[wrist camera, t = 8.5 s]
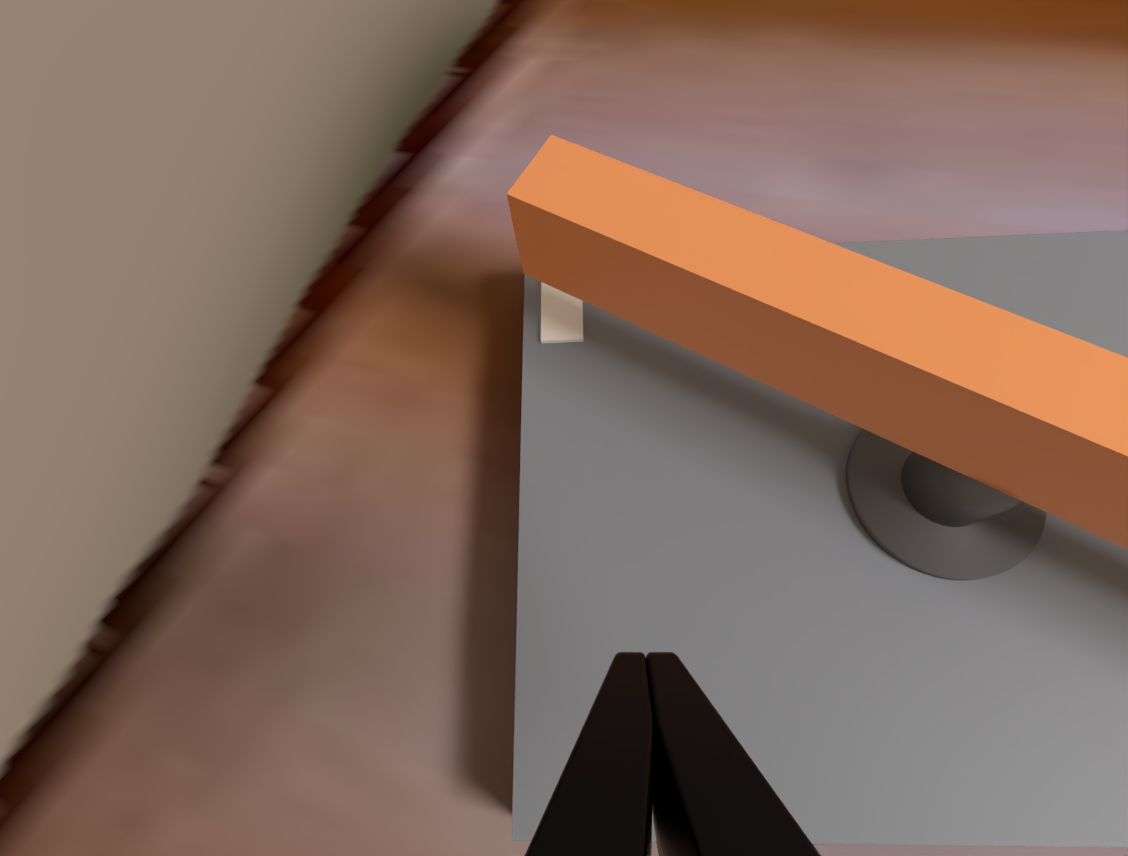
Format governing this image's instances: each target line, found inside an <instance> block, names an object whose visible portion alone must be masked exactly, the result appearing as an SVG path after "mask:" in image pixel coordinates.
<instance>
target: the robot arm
mask: <svg viewBox="0 0 1128 856" xmlns="http://www.w3.org/2000/svg"><path fill="white" fill-rule="evenodd" d="M652 811H653V822H654V829H655V835H656V842H657V848H658V853H659V856H821V855H820V854H819V852H818V851H817V850H816V848H815V847H814V845H813V844H812V843H811V841H810V840H809V839H808V837H807V836H806V834H805V833H804V832H803V830H802V829H801V827H800V826H799V825H798V823H797V822H796V820H795V819H794V818H793V816H792V815H791V813H790V812H789V811H788V809H787V808H786V806H785V805H784V804H783V802H782V801H781V799H780V798H779V797H778V795H777V794H776V792H775V791H774V790H773V788H772V787H771V785H770V784H769V783H768V781H767V780H766V779H765V777H764V776H763V774H762V773H761V772H760V770H759V769H758V767H757V766H756V765H755V763H754V762H753V760H752V759H751V758H750V756H749V755H748V753H747V752H746V751H745V749H744V748H743V746H742V745H741V744H740V742H739V741H738V739H737V738H736V737H735V735H734V734H733V732H732V731H731V730H730V728H729V727H728V725H727V724H726V723H725V721H724V720H723V719H722V717H721V716H720V714H719V713H718V712H717V710H716V709H715V707H714V706H713V705H712V703H711V702H710V700H709V699H708V698H707V696H706V695H705V693H704V692H703V691H702V689H701V688H700V686H699V685H698V684H697V682H696V681H695V679H694V678H693V677H692V675H691V674H690V672H689V671H688V670H687V668H686V667H685V665H684V664H683V663H682V661H681V660H680V659H679V657H678V656H677V655H676V654H675V653H673V652H649V653H648V654H647V655H646V657H645V655H644V653H642V652H618V653H617V654H616V655H615V656H614V659H613V661H612V663H611V665H610V667H609V670H608V672H607V674H606V676H605V678H604V681H603V683H602V685H601V687H600V690H599V692H598V694H597V696H596V698H595V701H594V703H593V705H592V707H591V710H590V712H589V714H588V716H587V718H586V721H585V723H584V725H583V727H582V730H581V732H580V734H579V736H578V738H577V741H576V743H575V745H574V747H573V749H572V752H571V754H570V756H569V758H568V761H567V763H566V765H565V767H564V769H563V772H562V774H561V776H560V778H559V781H558V783H557V785H556V787H555V789H554V792H553V794H552V796H551V798H550V801H549V803H548V805H547V807H546V809H545V812H544V814H543V816H542V818H541V821H540V823H539V825H538V827H537V829H536V832H535V834H534V836H533V838H532V840H531V843H530V845H529V847H528V849H527V852H526V854H525V856H651V848H652Z"/></svg>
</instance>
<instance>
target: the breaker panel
mask: <svg viewBox="0 0 1128 856" xmlns="http://www.w3.org/2000/svg"><path fill="white" fill-rule="evenodd" d="M833 244H835V245H838V246H840V247H843V248H845V249H848V250H851V251H853V252H856V253H858V254H861V255H864V256H866V257H869V258H871V259H874V260H876V261H879V262H882V263H884V264H887V265H889V266H892V267H895V268H897V269H900V270H902V271H905V272H908V273H910V274H913V275H915V276H918V277H920V278H923V279H926V280H928V281H931V282H933V283H936V284H939V285H941V286H944V287H946V288H949V289H951V290H954V291H957V292H959V293H962V294H964V295H967V296H970V297H972V298H975V299H977V300H980V301H982V302H985V303H988V304H990V305H993V306H995V307H998V308H1001V309H1003V310H1006V311H1008V312H1011V313H1014V314H1016V315H1019V316H1021V317H1024V318H1026V319H1029V320H1032V321H1034V322H1037V323H1039V324H1042V325H1045V326H1047V327H1050V328H1052V329H1055V330H1057V331H1060V332H1063V333H1065V334H1068V335H1070V336H1073V337H1076V338H1078V339H1081V340H1083V341H1086V342H1088V343H1091V344H1094V345H1096V346H1099V347H1101V348H1104V349H1107V350H1109V351H1112V352H1114V353H1117V354H1119V355H1122V356H1125V357H1127V358H1128V230H1122V231H1100V232H1077V233H1055V234H1033V235H1011V236H988V237H966V238H944V239H922V240H899V241H877V242H855V243H833ZM912 452H913V451H911V450H909V449H907V448H904V447H902V446H900V445H898V444H896V443H893V442H891V441H889V440H887V439H885V438H882V437H880V436H878V435H876V434H874V433H871V432H869V431H867V430H865V429H863V428H861V427H858V426H856V425H854V424H852V423H850V422H847V421H845V420H843V419H841V418H839V417H836V416H834V415H832V414H830V413H828V412H825V411H823V410H821V409H819V408H817V407H814V406H812V405H810V404H808V403H806V402H804V401H801V400H799V399H797V398H795V397H793V396H790V395H788V394H786V393H784V392H782V391H779V390H777V389H775V388H773V387H771V386H768V385H766V384H764V383H762V382H760V381H757V380H755V379H753V378H751V377H749V376H747V375H744V374H742V373H740V372H738V371H736V370H733V369H731V368H729V367H727V366H725V365H722V364H720V363H718V362H716V361H714V360H711V359H709V358H707V357H705V356H703V355H700V354H698V353H696V352H694V351H692V350H690V349H687V348H685V347H683V346H681V345H679V344H676V343H674V342H672V341H670V340H668V339H665V338H663V337H661V336H659V335H657V334H654V333H652V332H650V331H648V330H646V329H643V328H641V327H639V326H637V325H635V324H633V323H630V322H628V321H626V320H624V319H622V318H619V317H617V316H615V315H613V314H611V313H608V312H606V311H604V310H602V309H600V308H597V307H595V306H593V305H591V304H589V303H586V302H584V301H582V300H580V299H578V298H576V297H573V296H571V295H569V294H567V293H565V292H562V291H560V290H558V289H556V288H554V287H551V286H549V285H547V284H545V283H543V282H540V281H538V280H536V279H534V278H532V277H529V276H527V275H525V274H524V318H523V363H522V407H521V452H520V496H519V541H518V585H517V630H516V674H515V718H514V763H513V807H512V841H531V840H532V838H533V836H534V834H535V832H536V829H537V827H538V825H539V823H540V821H541V818H542V816H543V814H544V812H545V809H546V807H547V805H548V803H549V801H550V798H551V796H552V794H553V792H554V789H555V787H556V785H557V783H558V781H559V778H560V776H561V774H562V772H563V769H564V767H565V765H566V763H567V761H568V758H569V756H570V754H571V752H572V749H573V747H574V745H575V743H576V741H577V738H578V736H579V734H580V732H581V730H582V727H583V725H584V723H585V721H586V718H587V716H588V714H589V712H590V710H591V707H592V705H593V703H594V701H595V698H596V696H597V694H598V692H599V690H600V687H601V685H602V683H603V681H604V678H605V676H606V674H607V672H608V670H609V667H610V665H611V663H612V661H613V659H614V656H615V655H616V654H617V653H618V652H642V653H644V655H645V657H646V655H647V654H648V653H649V652H673V653H675V654H676V655H677V656H678V657H679V659H680V660H681V661H682V663H683V664H684V665H685V667H686V668H687V670H688V671H689V672H690V674H691V675H692V677H693V678H694V679H695V681H696V682H697V684H698V685H699V686H700V688H701V689H702V691H703V692H704V693H705V695H706V696H707V698H708V699H709V700H710V702H711V703H712V705H713V706H714V707H715V709H716V710H717V712H718V713H719V714H720V716H721V717H722V719H723V720H724V721H725V723H726V724H727V725H728V727H729V728H730V730H731V731H732V732H733V734H734V735H735V737H736V738H737V739H738V741H739V742H740V744H741V745H742V746H743V748H744V749H745V751H746V752H747V753H748V755H749V756H750V758H751V759H752V760H753V762H754V763H755V765H756V766H757V767H758V769H759V770H760V772H761V773H762V774H763V776H764V777H765V779H766V780H767V781H768V783H769V784H770V785H771V787H772V788H773V790H774V791H775V792H776V794H777V795H778V797H779V798H780V799H781V801H782V802H783V804H784V805H785V806H786V808H787V809H788V811H789V812H790V813H791V815H792V816H793V818H794V819H795V820H796V822H797V823H798V825H799V826H800V827H801V829H802V830H803V832H804V833H805V834H806V836H807V837H808V839H809V840H810V841H811V843H812V844H873V845H967V846H1060V847H1128V549H1126V548H1124V547H1121V546H1119V545H1117V544H1115V543H1113V542H1110V541H1108V540H1106V539H1104V538H1102V537H1100V536H1097V535H1095V534H1093V533H1091V532H1089V531H1086V530H1084V529H1082V528H1080V527H1078V526H1075V525H1073V524H1071V523H1069V522H1067V521H1064V520H1062V519H1060V518H1058V517H1056V516H1053V515H1051V514H1049V513H1047V512H1045V511H1043V510H1040V509H1038V508H1036V507H1034V506H1032V505H1029V504H1027V503H1025V504H1022V505H1020V506H1017V507H1015V508H1012V509H1010V510H1007V511H1004V512H1002V513H999V514H997V515H994V516H992V517H989V518H987V519H984V520H982V521H979V522H976V523H974V524H971V525H968V526H964V527H948V526H943V525H940V524H937V523H935V522H932V521H930V520H929V519H927V518H925V517H924V516H923V515H921V514H920V513H919V512H918V511H917V510H916V509H915V508H914V507H913V506H912V505H911V503H910V502H909V501H908V499H907V497H906V495H905V493H904V490H903V487H902V482H901V473H902V468H903V465H904V463H905V461H906V459H907V458H908V456H909V455H910V454H911V453H912ZM652 842H656V835H655V829H654V822H653V811H652Z"/></svg>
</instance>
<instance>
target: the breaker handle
mask: <svg viewBox="0 0 1128 856" xmlns="http://www.w3.org/2000/svg"><path fill="white" fill-rule="evenodd" d="M507 197H508V202H509V207H510V212H511V217H512V221H513V226H514V231H515V236H516V241H517V245H518V250H519V255H520V260H521V265H522V269H523V274H525V275H527V276H529V277H532V278H534V279H536V280H538V281H540V282H543V283H545V284H547V285H549V286H551V287H554V288H556V289H558V290H560V291H562V292H565V293H567V294H569V295H571V296H573V297H576V298H578V299H580V300H582V301H584V302H586V303H589V304H591V305H593V306H595V307H597V308H600V309H602V310H604V311H606V312H608V313H611V314H613V315H615V316H617V317H619V318H622V319H624V320H626V321H628V322H630V323H633V324H635V325H637V326H639V327H641V328H643V329H646V330H648V331H650V332H652V333H654V334H657V335H659V336H661V337H663V338H665V339H668V340H670V341H672V342H674V343H676V344H679V345H681V346H683V347H685V348H687V349H690V350H692V351H694V352H696V353H698V354H700V355H703V356H705V357H707V358H709V359H711V360H714V361H716V362H718V363H720V364H722V365H725V366H727V367H729V368H731V369H733V370H736V371H738V372H740V373H742V374H744V375H747V376H749V377H751V378H753V379H755V380H757V381H760V382H762V383H764V384H766V385H768V386H771V387H773V388H775V389H777V390H779V391H782V392H784V393H786V394H788V395H790V396H793V397H795V398H797V399H799V400H801V401H804V402H806V403H808V404H810V405H812V406H814V407H817V408H819V409H821V410H823V411H825V412H828V413H830V414H832V415H834V416H836V417H839V418H841V419H843V420H845V421H847V422H850V423H852V424H854V425H856V426H858V427H861V428H863V429H865V430H867V431H869V432H871V433H874V434H876V435H878V436H880V437H882V438H885V439H887V440H889V441H891V442H893V443H896V444H898V445H900V446H902V447H904V448H907V449H909V450H911V451H913V452H912V453H911V454H910V455H909V456H908V458H907V459H906V461H905V463H904V465H903V468H902V473H901V482H902V487H903V490H904V493H905V495H906V497H907V499H908V501H909V502H910V503H911V505H912V506H913V507H914V508H915V509H916V510H917V511H918V512H919V513H920V514H921V515H923V516H924V517H925V518H927V519H929V520H930V521H932V522H935V523H937V524H940V525H943V526H948V527H964V526H968V525H971V524H974V523H976V522H979V521H982V520H984V519H987V518H989V517H992V516H994V515H997V514H999V513H1002V512H1004V511H1007V510H1010V509H1012V508H1015V507H1017V506H1020V505H1022V504H1025V503H1027V504H1029V505H1032V506H1034V507H1036V508H1038V509H1040V510H1043V511H1045V512H1047V513H1049V514H1051V515H1053V516H1056V517H1058V518H1060V519H1062V520H1064V521H1067V522H1069V523H1071V524H1073V525H1075V526H1078V527H1080V528H1082V529H1084V530H1086V531H1089V532H1091V533H1093V534H1095V535H1097V536H1100V537H1102V538H1104V539H1106V540H1108V541H1110V542H1113V543H1115V544H1117V545H1119V546H1121V547H1124V548H1126V549H1128V358H1127V357H1125V356H1122V355H1119V354H1117V353H1114V352H1112V351H1109V350H1107V349H1104V348H1101V347H1099V346H1096V345H1094V344H1091V343H1088V342H1086V341H1083V340H1081V339H1078V338H1076V337H1073V336H1070V335H1068V334H1065V333H1063V332H1060V331H1057V330H1055V329H1052V328H1050V327H1047V326H1045V325H1042V324H1039V323H1037V322H1034V321H1032V320H1029V319H1026V318H1024V317H1021V316H1019V315H1016V314H1014V313H1011V312H1008V311H1006V310H1003V309H1001V308H998V307H995V306H993V305H990V304H988V303H985V302H982V301H980V300H977V299H975V298H972V297H970V296H967V295H964V294H962V293H959V292H957V291H954V290H951V289H949V288H946V287H944V286H941V285H939V284H936V283H933V282H931V281H928V280H926V279H923V278H920V277H918V276H915V275H913V274H910V273H908V272H905V271H902V270H900V269H897V268H895V267H892V266H889V265H887V264H884V263H882V262H879V261H876V260H874V259H871V258H869V257H866V256H864V255H861V254H858V253H856V252H853V251H851V250H848V249H845V248H843V247H840V246H838V245H835V244H833V243H830V242H827V241H825V240H822V239H820V238H817V237H814V236H812V235H809V234H807V233H804V232H802V231H799V230H796V229H794V228H791V227H789V226H786V225H783V224H781V223H778V222H776V221H773V220H771V219H768V218H765V217H763V216H760V215H758V214H755V213H752V212H750V211H747V210H745V209H742V208H739V207H737V206H734V205H732V204H729V203H727V202H724V201H721V200H719V199H716V198H714V197H711V196H708V195H706V194H703V193H701V192H698V191H696V190H693V189H690V188H688V187H685V186H683V185H680V184H677V183H675V182H672V181H670V180H667V179H665V178H662V177H659V176H657V175H654V174H652V173H649V172H646V171H644V170H641V169H639V168H636V167H634V166H631V165H628V164H626V163H623V162H621V161H618V160H615V159H613V158H610V157H608V156H605V155H602V154H600V153H597V152H595V151H592V150H590V149H587V148H584V147H582V146H579V145H577V144H574V143H571V142H569V141H566V140H564V139H561V138H559V137H556V136H553V135H551V136H550V137H549V139H548V140H547V141H546V143H545V144H544V145H543V147H542V148H541V149H540V151H539V152H538V153H537V154H536V156H535V157H534V158H533V160H532V161H531V162H530V164H529V165H528V166H527V168H526V169H525V170H524V172H523V173H522V174H521V176H520V177H519V178H518V180H517V181H516V182H515V184H514V185H513V186H512V188H511V189H510V190H509V192H508V193H507Z"/></svg>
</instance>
